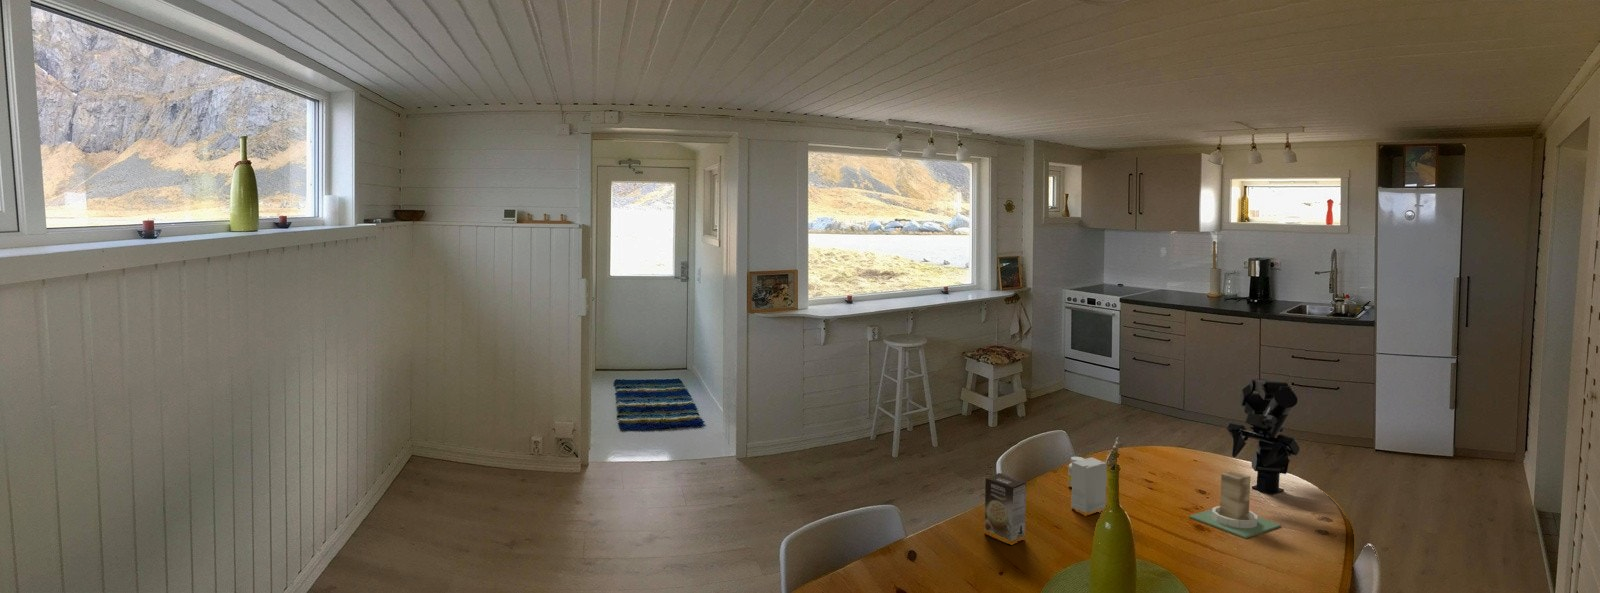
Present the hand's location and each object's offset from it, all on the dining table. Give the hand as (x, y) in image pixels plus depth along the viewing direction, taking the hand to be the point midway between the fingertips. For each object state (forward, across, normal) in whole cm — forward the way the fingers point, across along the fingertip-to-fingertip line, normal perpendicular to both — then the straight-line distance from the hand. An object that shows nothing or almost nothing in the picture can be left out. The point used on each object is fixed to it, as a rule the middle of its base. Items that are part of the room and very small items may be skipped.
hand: (1248, 461), depth 213 cm
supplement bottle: (+33, -34, -13) cm, 49 cm away
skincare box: (+41, -19, -22) cm, 50 cm away
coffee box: (+65, -17, -46) cm, 81 cm away
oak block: (+20, +6, -2) cm, 21 cm away
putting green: (+20, +6, -2) cm, 21 cm away
